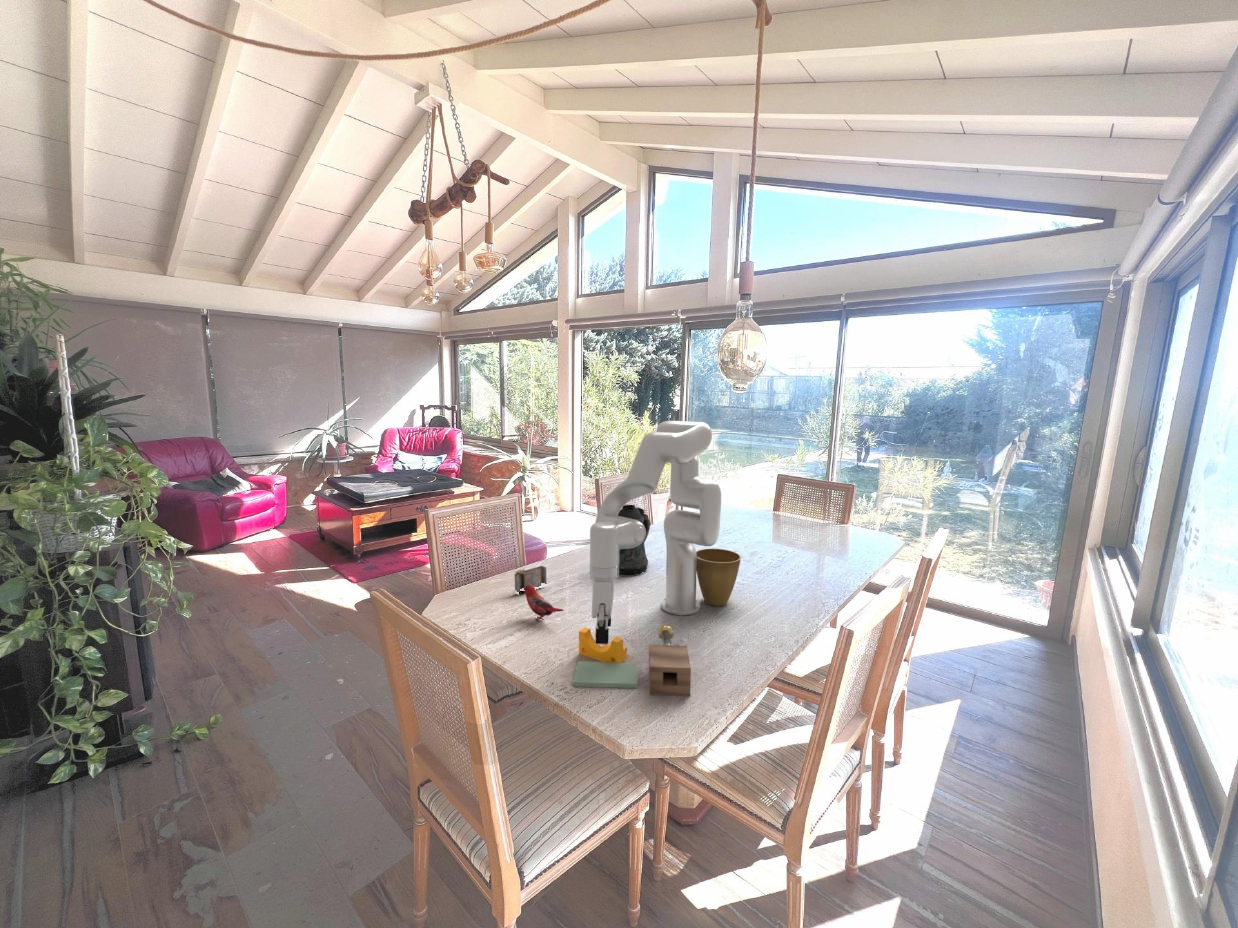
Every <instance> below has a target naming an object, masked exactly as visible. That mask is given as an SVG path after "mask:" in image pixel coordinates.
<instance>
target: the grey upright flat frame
mask: <svg viewBox="0 0 1238 928" xmlns="http://www.w3.org/2000/svg"><path fill="white" fill-rule="evenodd" d="M541 583H545V584H547V567H546V566H543V565H539V566H536V567H533V568H528V569H525V568H522V569H519V570H516V571H515V573H514V591H515V590H516V591H517V592H520V589H522V588H524V589H525V587H526V585H528V584H529V585H531V586H532V587H539V586H541ZM547 585H548V584H547ZM520 593H521V592H520Z"/></svg>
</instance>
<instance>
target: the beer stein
mask: <svg viewBox="0 0 1238 928" xmlns="http://www.w3.org/2000/svg"><path fill="white" fill-rule="evenodd" d="M617 516H621V517H625V518H630V519H634V520H637V521H639V522H641V523H642V524H643V525H644V527H645V529H646V536H645V539H644V541H643V542H642V543H641V544H640V545H639V546H637V547H634V548H626V549H620V550H619V576H620V575H633V576H637V575H636V574H639V575H641V573H642V572H644V573H645V572H647V570H648V565H649V560H648V557H647V554H646V548H645V542H646V540H647V538H648V535H649V532H650V529H651V522H650V518H649V515H647V514H645V509H643V508H641V507H639V506H638V507H636V506H635V504H625V505H624V506H623V507H622V508H621V510H620V511H619V513H618V515H617ZM646 569H647V570H646ZM642 574H643V573H642Z"/></svg>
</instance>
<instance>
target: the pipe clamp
mask: <svg viewBox="0 0 1238 928" xmlns="http://www.w3.org/2000/svg"><path fill="white" fill-rule="evenodd" d="M627 651H628V649H627V646H624V638H623V637H620V636H615V638H613V639H612V640H611V643H610V644H609V643H608V644H603V646H601V644H596V639H594V637H593V635H592V630H591V628H589V627H586V626H584V627H582V628H581V629H579V630H578V653H579V655H582V656H584V657H588V658H591V659H594V660H597V661H599V662H618V663H624V662H625V661H626V660H627V659H628V657H627V656H628V655H627V654H628V653H627Z"/></svg>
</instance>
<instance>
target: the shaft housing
mask: <svg viewBox="0 0 1238 928" xmlns="http://www.w3.org/2000/svg"><path fill="white" fill-rule="evenodd" d="M691 672H692V666H691V663H690V656H689V649H688V645H686V644H685V645H684V644H683V645H682V644H681V645H679V644H672V645H662V644H649V649H648V683H649V686H648V688H649V689H648V690H649V695H650V696H675V697H676V696H677V697H678V696H680V697H681V696H683V697H691V681H692V680H691V679H692V678H691V677H692V675H691V674H692V673H691Z"/></svg>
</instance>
